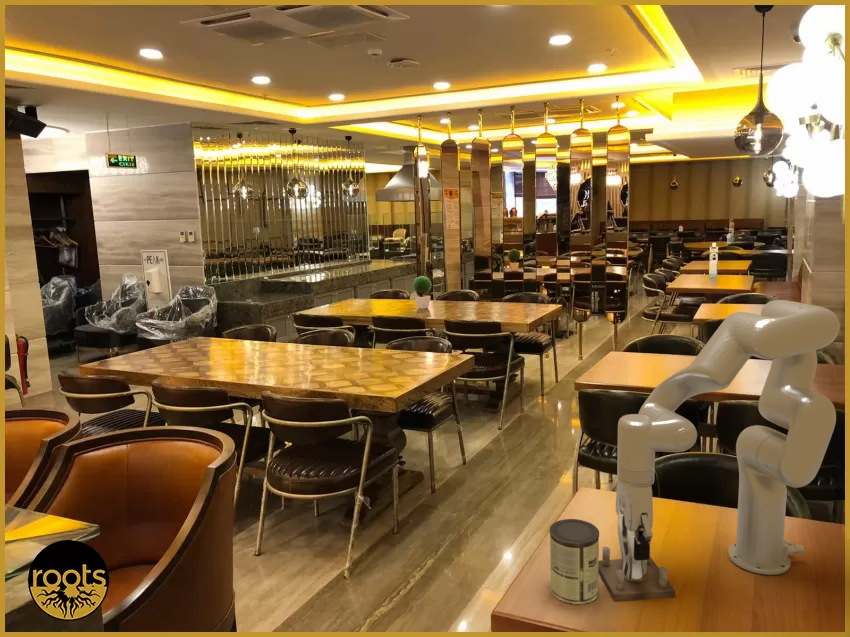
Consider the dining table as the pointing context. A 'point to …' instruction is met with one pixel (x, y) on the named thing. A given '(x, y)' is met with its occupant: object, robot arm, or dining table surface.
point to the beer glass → (630, 553)
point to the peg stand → (629, 590)
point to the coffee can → (574, 561)
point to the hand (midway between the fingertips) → (634, 548)
